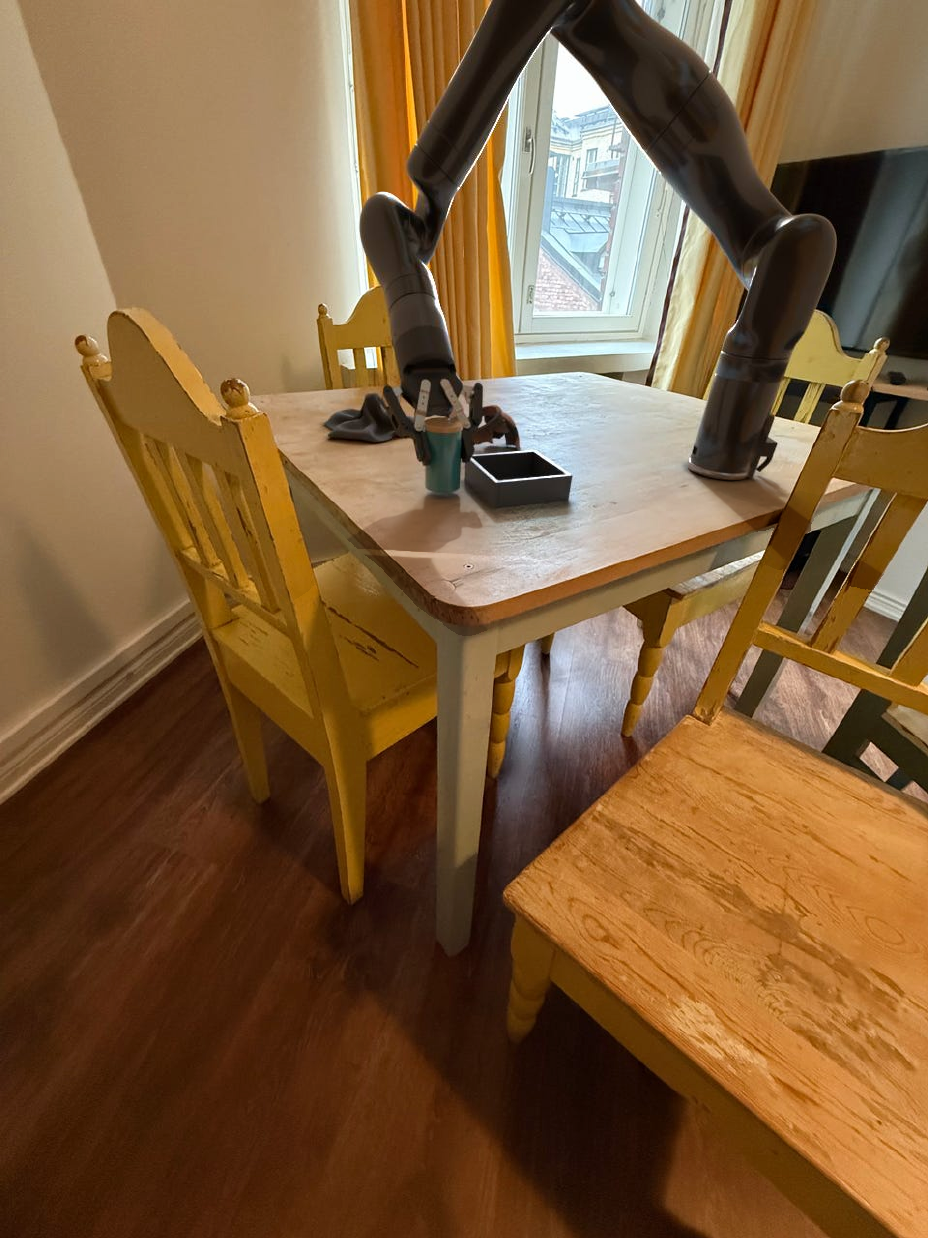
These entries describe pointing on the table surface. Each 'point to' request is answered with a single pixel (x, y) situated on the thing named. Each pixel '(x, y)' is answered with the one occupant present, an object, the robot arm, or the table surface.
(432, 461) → the spice jar
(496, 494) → the bin
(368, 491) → the table surface
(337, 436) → the cloth
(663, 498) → the table surface
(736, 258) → the robot arm
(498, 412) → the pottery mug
